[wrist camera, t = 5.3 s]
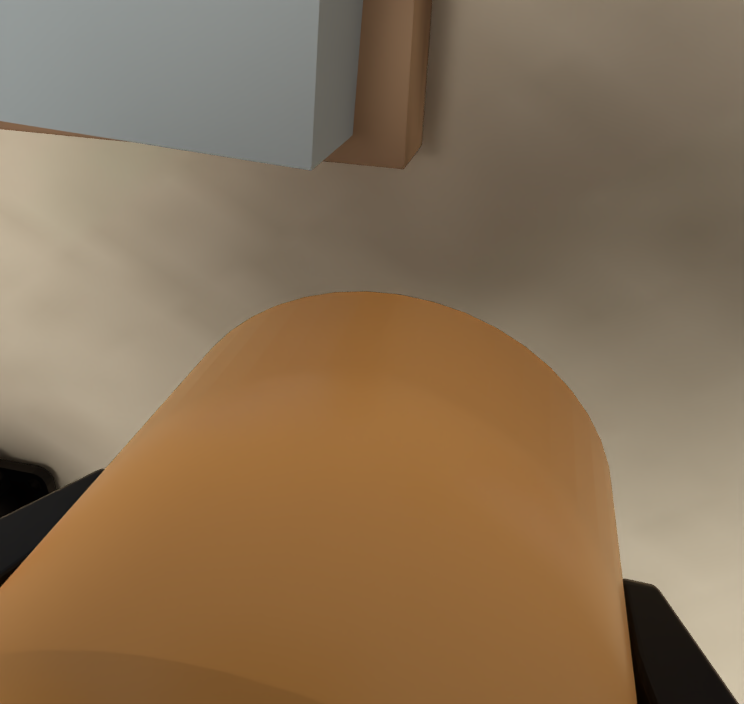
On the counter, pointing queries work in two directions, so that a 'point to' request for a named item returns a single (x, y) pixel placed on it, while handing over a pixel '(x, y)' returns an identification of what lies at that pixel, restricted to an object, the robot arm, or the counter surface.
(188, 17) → the block
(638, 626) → the robot arm
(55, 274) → the counter surface
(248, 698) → the orange cylinder
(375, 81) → the tower base
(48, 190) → the counter surface
